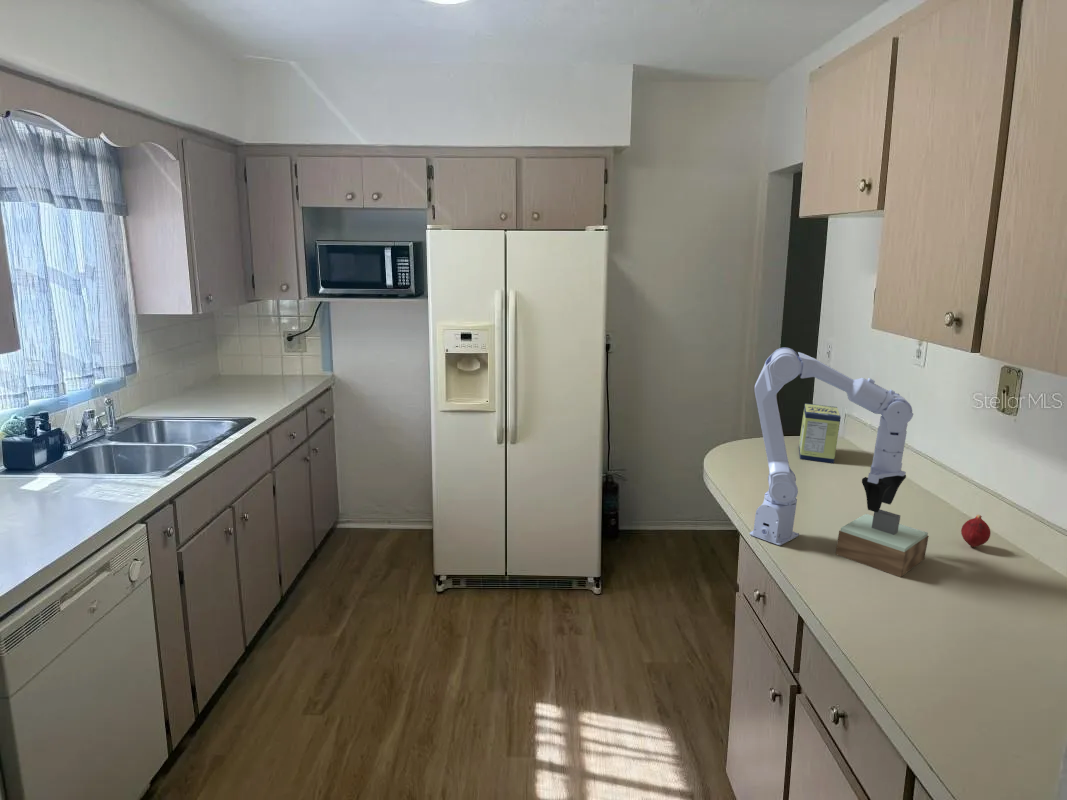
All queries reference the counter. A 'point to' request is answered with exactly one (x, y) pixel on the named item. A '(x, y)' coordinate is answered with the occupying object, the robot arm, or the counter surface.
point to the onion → (975, 531)
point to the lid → (885, 530)
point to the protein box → (819, 433)
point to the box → (880, 554)
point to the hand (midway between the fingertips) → (879, 506)
